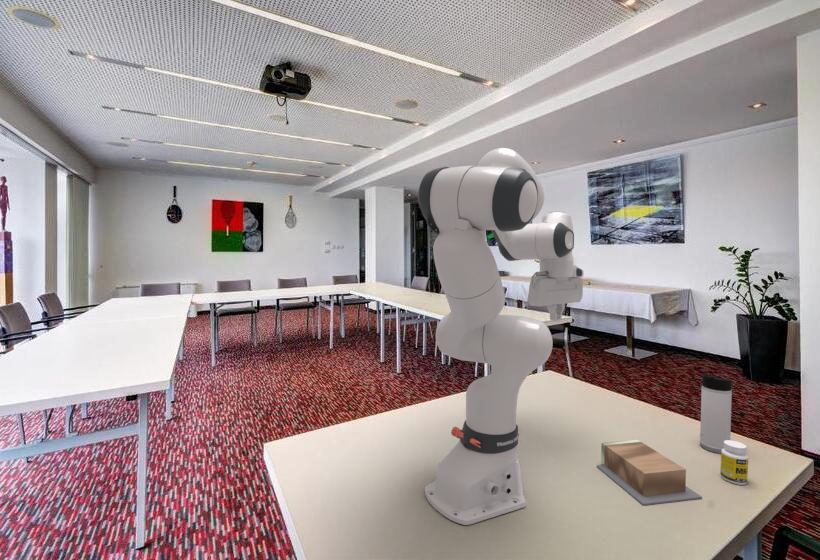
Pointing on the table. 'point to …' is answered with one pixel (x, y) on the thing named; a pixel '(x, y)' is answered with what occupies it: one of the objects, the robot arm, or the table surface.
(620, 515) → the table surface
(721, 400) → the travel mug
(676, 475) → the walnut block
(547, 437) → the table surface
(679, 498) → the mat
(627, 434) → the table surface
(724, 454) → the supplement bottle
